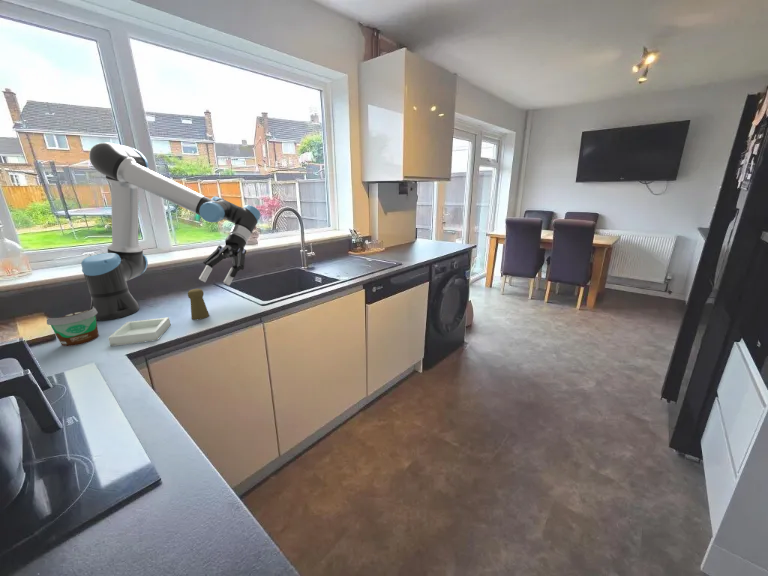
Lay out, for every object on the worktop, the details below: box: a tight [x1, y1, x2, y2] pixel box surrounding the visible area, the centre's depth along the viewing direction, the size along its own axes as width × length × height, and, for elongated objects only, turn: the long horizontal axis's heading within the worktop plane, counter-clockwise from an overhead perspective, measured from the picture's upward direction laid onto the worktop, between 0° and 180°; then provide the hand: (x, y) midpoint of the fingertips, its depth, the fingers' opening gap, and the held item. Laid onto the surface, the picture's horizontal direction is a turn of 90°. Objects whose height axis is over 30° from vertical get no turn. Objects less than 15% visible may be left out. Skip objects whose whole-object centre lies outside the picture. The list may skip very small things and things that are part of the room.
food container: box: [46, 307, 100, 347], centre depth 104 cm, size 12×6×10 cm, turn 148°
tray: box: [107, 317, 172, 347], centre depth 109 cm, size 13×13×3 cm
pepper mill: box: [187, 288, 210, 321], centre depth 123 cm, size 6×6×11 cm
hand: (213, 282), depth 128 cm, fingers open, 13 cm apart
